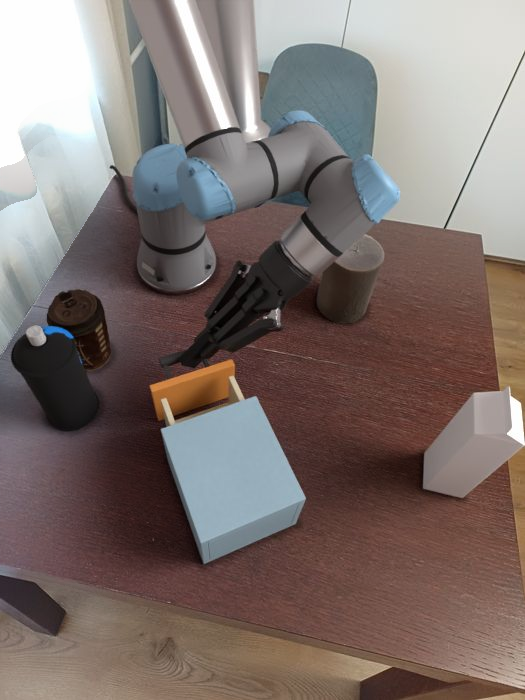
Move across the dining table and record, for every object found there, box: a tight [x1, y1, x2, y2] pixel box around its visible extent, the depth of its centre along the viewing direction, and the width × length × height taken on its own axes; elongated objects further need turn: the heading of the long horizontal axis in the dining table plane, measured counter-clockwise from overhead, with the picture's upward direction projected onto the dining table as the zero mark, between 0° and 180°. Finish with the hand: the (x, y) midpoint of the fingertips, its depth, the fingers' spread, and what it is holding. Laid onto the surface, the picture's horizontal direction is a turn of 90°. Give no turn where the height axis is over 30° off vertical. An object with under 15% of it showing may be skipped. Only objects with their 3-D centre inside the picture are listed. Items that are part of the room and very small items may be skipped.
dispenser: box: [160, 395, 307, 565], centre depth 68 cm, size 16×14×11 cm
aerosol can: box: [10, 324, 100, 432], centre depth 70 cm, size 8×8×20 cm
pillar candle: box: [316, 233, 385, 324], centre depth 89 cm, size 10×10×15 cm
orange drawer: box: [149, 349, 246, 427], centre depth 73 cm, size 20×13×9 cm, turn 24°
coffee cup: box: [45, 288, 112, 372], centre depth 79 cm, size 9×8×13 cm
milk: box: [422, 385, 525, 499], centre depth 67 cm, size 6×6×22 cm
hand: (186, 363), depth 76 cm, fingers closed
